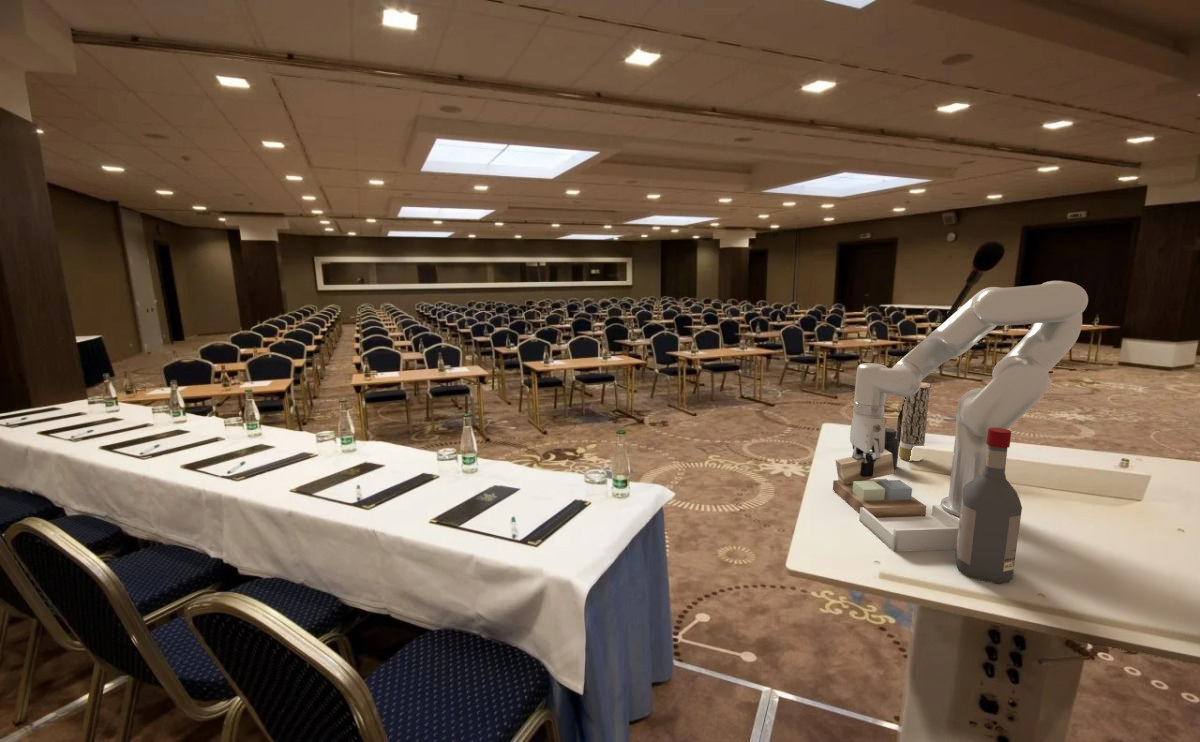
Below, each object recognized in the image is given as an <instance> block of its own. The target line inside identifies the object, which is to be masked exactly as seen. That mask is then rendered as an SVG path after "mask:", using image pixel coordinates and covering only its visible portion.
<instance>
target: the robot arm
mask: <svg viewBox="0 0 1200 742" xmlns="http://www.w3.org/2000/svg"><path fill="white" fill-rule="evenodd" d="M1088 303H1089V295H1088V294H1087V291H1086V290H1085V289H1084V288H1083V287H1082V286H1080V285H1078V284H1077V283H1074V282H1071V281H1064V280H1050V281H1046V282H1043V283H1042V284H1035V285H1024V286H1014V287H1012V286H1011V287H998V286H990V287H986V288H983V289H981V290H980V291H978V292H976V293H975V294H974V295H973V296H972V297H971V298H970V299H969V300H967V302H965V303H964V304H962V306H961V307H959V309H957V310H956V311H954V312H953V314H952V315H950V316H949V317H948V318H947V319H946V320H945V321H944V322H943V323H941V324H940V325H939V326H938V327H937V328H936V329H934V330H933V331H932V332H930V334H928V335H927V336H926V337H925V339H923V340H922V341H921V342H919V343H918V344H917V345H916V346H915V347H914V348H913V349H911V350H910V351H909V352H908V353H907V354H906V355H904V356H903V357H902V358H901V359H900V360H899V361H898V362H897V363H895V364H894V365H893V366H892V368H890V367H887V366H886V365H884V364H881V363H874V362H871V363H870V362H865V363H861V364H859V365H858V366H857V368H856V374H855V375H856V377H855V386H854V396H853V397H854V399H853V406H852V407H853V408H852V409H853V411H852V413H853V415H852V419H851V425H850V433H849V442H850V444H851V445H852V449H853V451H852V455H856V454H860V453H863V462H862V463H861V474H860V475H861V476H862V477H872V476H873V469H874V463H875V461H876V460H877V459H880V453H883V452H884V444H885V428H886V424H885V423H886V422H885V409H886V401H887V400H886V399H887V394H888V395H889V394H890V395H893V396H897V397H903V398H904V397H908V396H912V395H914V394H916V393H917V392H918V391H919V389H920V387H921V382H923V380H924V379H925V378H926V377H927V376H929V375H930V374H931V373H932V372H933V371H935V370H936V369H937V368H939V367H940V366H941V365H943V364H944V363H945V362H948V361H949V360H952V359H955V358H957V357H960V356H962V355H963V354H965V353H966V352H967V351H969V350H970V349H971V348H972V347H973V346H975V345H976V344H977V343H978V342H979V341H980V340H982V339H983V338H985V336H987V335H988V334H989V333H990V332H992V331H993V330H994V329H995V328H996V327H997V326H1019V325H1021V326H1022V325H1032V326H1031V328H1030V330H1029V331H1028V332H1027V333H1026V335H1024V336H1023V338H1022V339H1021V340H1020V341H1019V342H1018V343H1017V344H1016V345H1015V346H1014V347H1013V348H1012V349H1011V350H1010V351H1009V352H1008V353H1007V354H1006V355H1005V356H1004V357H1002V358H1001V360H999V361H998V362H997V363H996V365H995V366H994V367H993V369H992V374H991V376H992V379H991V380H990V381H989V382H988V383H987V384H986V386H984V387H981V388H979V387H978V388H977V387H976V388H971V390H968V391H966V392H965V393H964V394H962V396H961V397H960V399H958V403H957V407H956V417H955V418H956V419H955V421H956V422H955V434H954V435H955V436H954V443H953V444H954V446H953V452H952V453H953V454H952V461H951V472H950V482H949V492H948V496H946V497H943V498H941V500H940V506H941V507H942V508H941V509H943V510H944V511H946V512H947V513H949V514H950V515H954V516H957V517H959V518H960V511H961V503H962V494H963V488H964V487H965V485H966V484H967V483H969V482H970V481H972V480H973V479H975V478H976V477H978V476H980V475H981V474H983V470H984V468H985V464H986V457H987V449H988V445H987V444H986V442H987V435H988V429H989V428H993V427H994V428H1003V429H1007V430H1010V428H1011V427H1012V426H1013V425H1014V424H1015V423H1016V422H1017V421H1019V420H1020V419H1021V418H1022V417H1023V416H1024V415H1025V414H1026V413H1027V412H1028V411H1029V410H1031V408H1033V406H1034V405H1036V404H1037V403H1038V402H1039V401H1040V400H1041V399H1042V398H1043V396H1044V395H1045V394H1046V392H1047V390H1048V389H1049V386H1050V377H1049V372H1050V371H1051V370H1053V368H1054V367H1055V366H1056V365H1057V364H1058V363H1059V362H1060V361H1061V360H1062V358H1063V357H1064V356H1065V355H1066V354H1067V353H1068V352H1069V351H1070V350H1071V349H1072V348H1073V346H1074V345H1075V344H1076V342H1077V340H1078V338H1079V336H1080V333H1081V332H1082V331H1081V330H1082V326H1083V313H1084V311H1085V310H1086V308H1087V306H1088ZM868 454H871V456H869V457H868ZM867 457H868V458H867Z"/></svg>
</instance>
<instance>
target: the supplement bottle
mask: <svg viewBox="0 0 1200 742" xmlns="http://www.w3.org/2000/svg"><path fill="white" fill-rule="evenodd" d="M897 433H898V431H897V430H896V429H894V428H889V427H885V444H884V449H885V450H887V451H889V452H890V453H892V458H893V466H894V470H896V469H897V467H898V461H899V450H900V441H899V440H898V439H897V437H898V434H897Z"/></svg>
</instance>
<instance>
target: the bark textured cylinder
mask: <svg viewBox="0 0 1200 742" xmlns="http://www.w3.org/2000/svg"><path fill="white" fill-rule="evenodd" d="M930 391H931V384H930V383H928V382H923V381H921V387H920V389H919V391H918V392H917V393H916V394H914V395H912V396H908V397H906V399H905V397H903V404H904V406H903V405H902V406H903V408H902V416H901V417H902V418H901V426H900V427H901V428H900V430H901V431H900V439H899V440H900V441H899V452H898V457H899V458H900V459H902V460H904V461H908V462H910V461H909V460H910V456H911V450H912V448H913V447H914V446H924V447H925V441H926V432H927V431H926V430H927V421H928V420H927V419H928V410H929V402H930V401H929V399H930ZM904 400H905V402H904ZM908 401H909V403H908Z"/></svg>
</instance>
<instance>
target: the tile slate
mask: <svg viewBox="0 0 1200 742" xmlns="http://www.w3.org/2000/svg"><path fill="white" fill-rule="evenodd" d="M879 485H880V486H882V487H883V488H884V489H885V497H887V498H888V499H889V500H904V499H911V496H912V493H913V487H911V486H910V485H908V484H907V483H906V482H903V481H902V480H901V479H891V480H890V479H889V480H888V479H887V480H883V481H879Z"/></svg>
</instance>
